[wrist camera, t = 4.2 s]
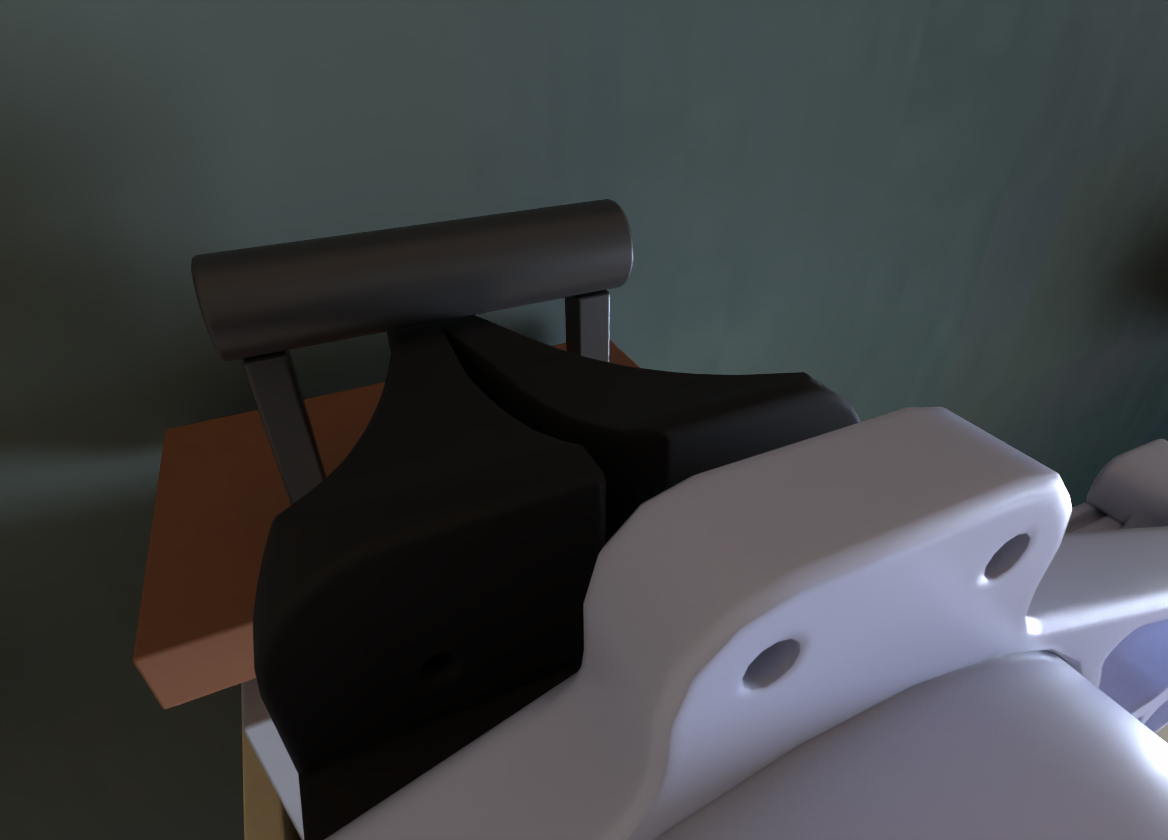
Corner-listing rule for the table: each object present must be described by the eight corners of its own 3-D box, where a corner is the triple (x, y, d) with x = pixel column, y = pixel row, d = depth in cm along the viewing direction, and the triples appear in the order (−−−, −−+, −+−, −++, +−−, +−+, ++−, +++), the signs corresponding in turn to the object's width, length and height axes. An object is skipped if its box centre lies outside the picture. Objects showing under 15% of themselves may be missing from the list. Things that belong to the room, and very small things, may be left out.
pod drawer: (56, 191, 11) (-76, 342, 6) (605, 136, 15) (790, 206, 10) (309, 750, 21) (333, 978, 16) (601, 635, 24) (693, 793, 19)
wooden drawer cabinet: (239, 632, 18) (245, 955, 12) (606, 513, 22) (750, 711, 16) (343, 852, 26) (379, 1120, 20) (603, 734, 30) (701, 926, 24)
